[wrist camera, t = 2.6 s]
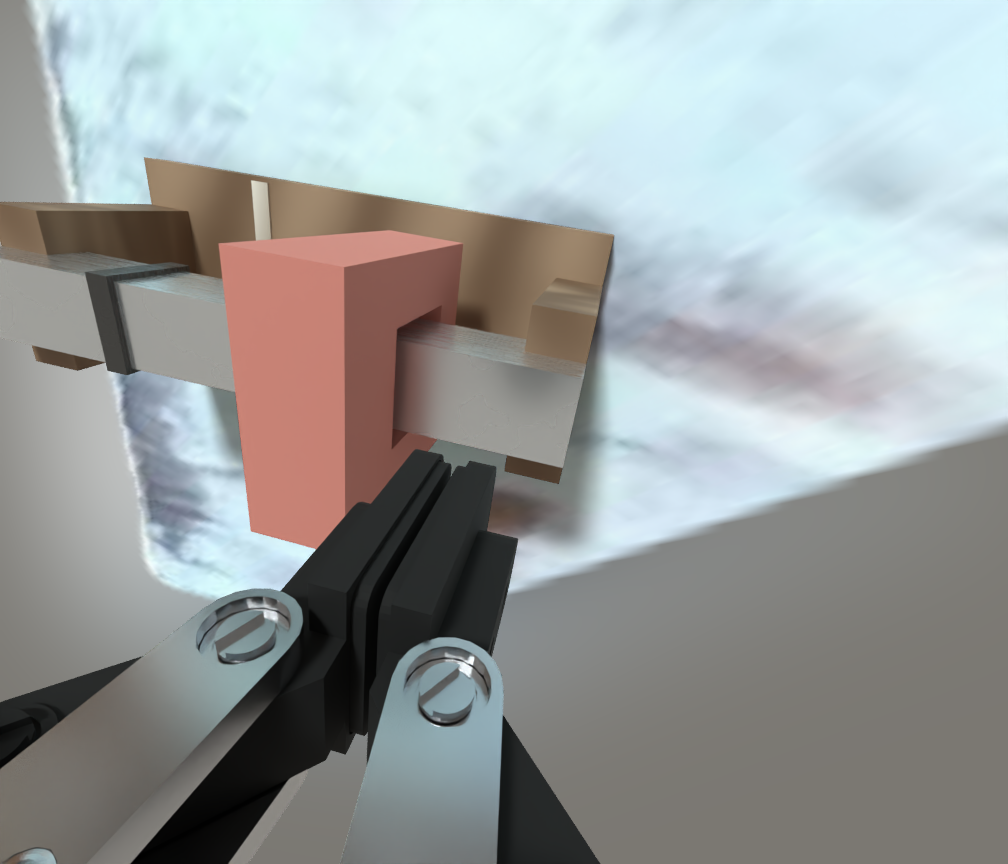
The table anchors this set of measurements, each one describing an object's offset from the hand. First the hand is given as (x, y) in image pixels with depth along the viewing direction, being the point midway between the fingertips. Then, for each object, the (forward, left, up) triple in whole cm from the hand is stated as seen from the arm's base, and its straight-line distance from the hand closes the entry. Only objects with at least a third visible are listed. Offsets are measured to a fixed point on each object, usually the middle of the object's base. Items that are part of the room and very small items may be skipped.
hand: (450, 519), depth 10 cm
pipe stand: (+9, 0, -15) cm, 17 cm away
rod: (+9, 0, -9) cm, 12 cm away
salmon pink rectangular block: (+5, 0, -11) cm, 12 cm away
